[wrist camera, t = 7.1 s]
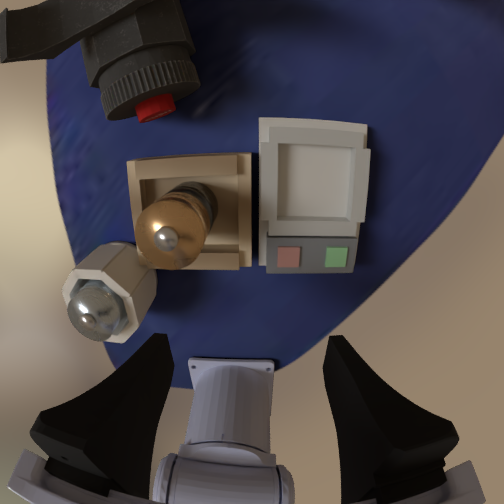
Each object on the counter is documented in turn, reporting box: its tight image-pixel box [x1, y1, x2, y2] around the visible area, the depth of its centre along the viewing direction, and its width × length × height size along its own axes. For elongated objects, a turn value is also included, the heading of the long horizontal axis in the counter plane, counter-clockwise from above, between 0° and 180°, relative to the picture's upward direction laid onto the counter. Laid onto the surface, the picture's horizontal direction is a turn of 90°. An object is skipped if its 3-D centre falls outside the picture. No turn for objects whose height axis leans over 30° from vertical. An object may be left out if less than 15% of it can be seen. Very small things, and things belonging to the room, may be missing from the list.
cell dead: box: [67, 279, 126, 341], centre depth 19 cm, size 4×4×6 cm
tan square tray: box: [127, 152, 252, 270], centre depth 19 cm, size 7×8×2 cm
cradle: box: [259, 118, 371, 273], centre depth 18 cm, size 10×7×2 cm
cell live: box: [135, 181, 218, 270], centre depth 16 cm, size 4×4×6 cm
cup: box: [62, 241, 158, 343], centre depth 20 cm, size 6×6×5 cm
